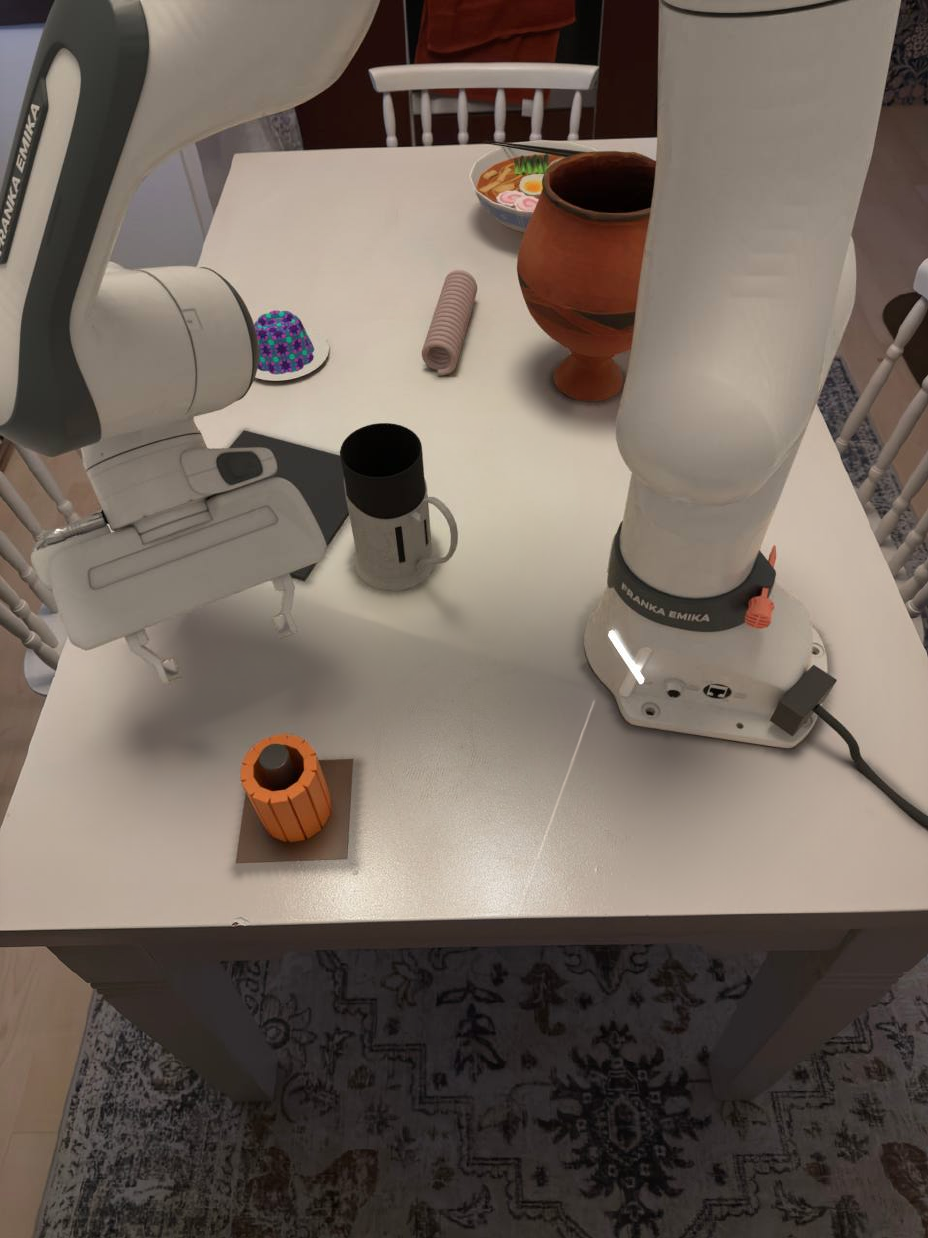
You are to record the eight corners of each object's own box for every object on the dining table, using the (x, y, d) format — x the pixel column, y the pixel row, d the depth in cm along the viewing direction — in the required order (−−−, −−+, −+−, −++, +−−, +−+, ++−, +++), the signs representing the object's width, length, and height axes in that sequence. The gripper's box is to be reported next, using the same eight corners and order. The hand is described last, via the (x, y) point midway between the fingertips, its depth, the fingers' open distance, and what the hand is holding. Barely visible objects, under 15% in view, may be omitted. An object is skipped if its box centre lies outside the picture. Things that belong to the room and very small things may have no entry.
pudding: (323, 324, 114) (316, 288, 110) (336, 376, 107) (330, 340, 103) (234, 338, 112) (225, 303, 108) (242, 392, 105) (232, 356, 101)
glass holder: (399, 516, 92) (386, 405, 80) (490, 587, 85) (490, 479, 73) (337, 558, 88) (313, 449, 76) (426, 636, 82) (415, 530, 70)
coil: (457, 348, 103) (480, 269, 113) (420, 342, 103) (446, 263, 113) (455, 379, 106) (477, 300, 117) (419, 373, 106) (444, 294, 117)
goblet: (678, 429, 99) (726, 222, 79) (516, 432, 99) (524, 227, 80) (654, 334, 111) (691, 133, 91) (510, 337, 111) (515, 138, 91)
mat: (379, 468, 96) (378, 465, 96) (304, 581, 86) (303, 577, 86) (244, 432, 101) (243, 429, 100) (158, 535, 91) (157, 532, 90)
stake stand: (354, 765, 73) (337, 702, 65) (349, 864, 68) (329, 810, 60) (252, 768, 73) (222, 706, 65) (239, 868, 68) (204, 815, 60)
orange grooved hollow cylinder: (343, 790, 71) (329, 748, 65) (310, 852, 67) (293, 813, 61) (283, 768, 72) (264, 724, 66) (248, 827, 69) (226, 787, 63)
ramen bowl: (439, 244, 126) (436, 189, 119) (495, 176, 138) (495, 123, 132) (598, 276, 119) (605, 220, 113) (641, 202, 132) (649, 148, 126)
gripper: (11, 538, 57) (95, 719, 60) (290, 442, 63) (357, 612, 65) (28, 540, 63) (104, 704, 66) (282, 452, 69) (343, 607, 71)
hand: (232, 657), depth 66 cm, fingers open, 8 cm apart
